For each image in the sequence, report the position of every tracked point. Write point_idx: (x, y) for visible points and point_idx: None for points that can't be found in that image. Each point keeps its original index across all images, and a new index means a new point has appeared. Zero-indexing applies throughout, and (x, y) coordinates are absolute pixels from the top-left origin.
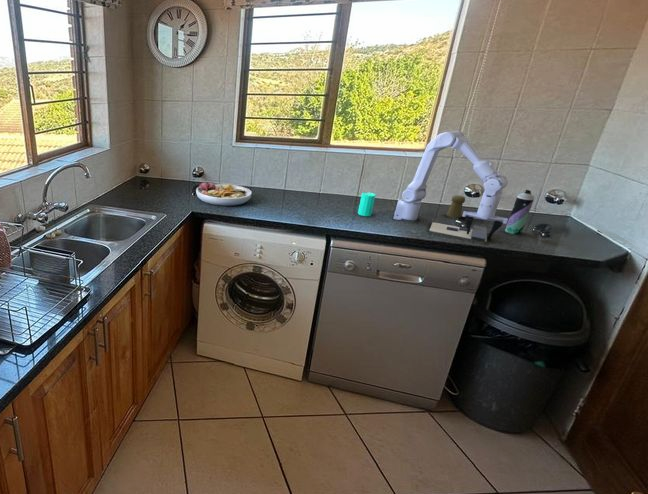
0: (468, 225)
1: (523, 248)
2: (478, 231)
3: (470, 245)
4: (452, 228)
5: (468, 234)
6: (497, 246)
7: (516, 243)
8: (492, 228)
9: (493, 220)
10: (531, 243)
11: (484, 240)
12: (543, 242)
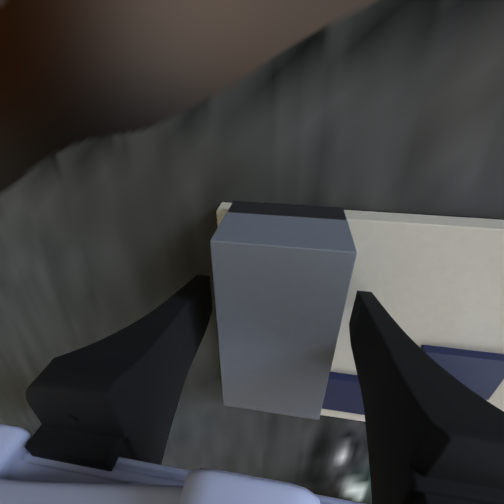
0: (418, 359)
1: (27, 255)
2: (297, 276)
3: (359, 40)
4: (457, 377)
5: (344, 318)
6: (145, 195)
7: (83, 321)
8: (159, 340)
9: (134, 476)
10: (41, 352)
11: (232, 204)
12: (20, 383)
